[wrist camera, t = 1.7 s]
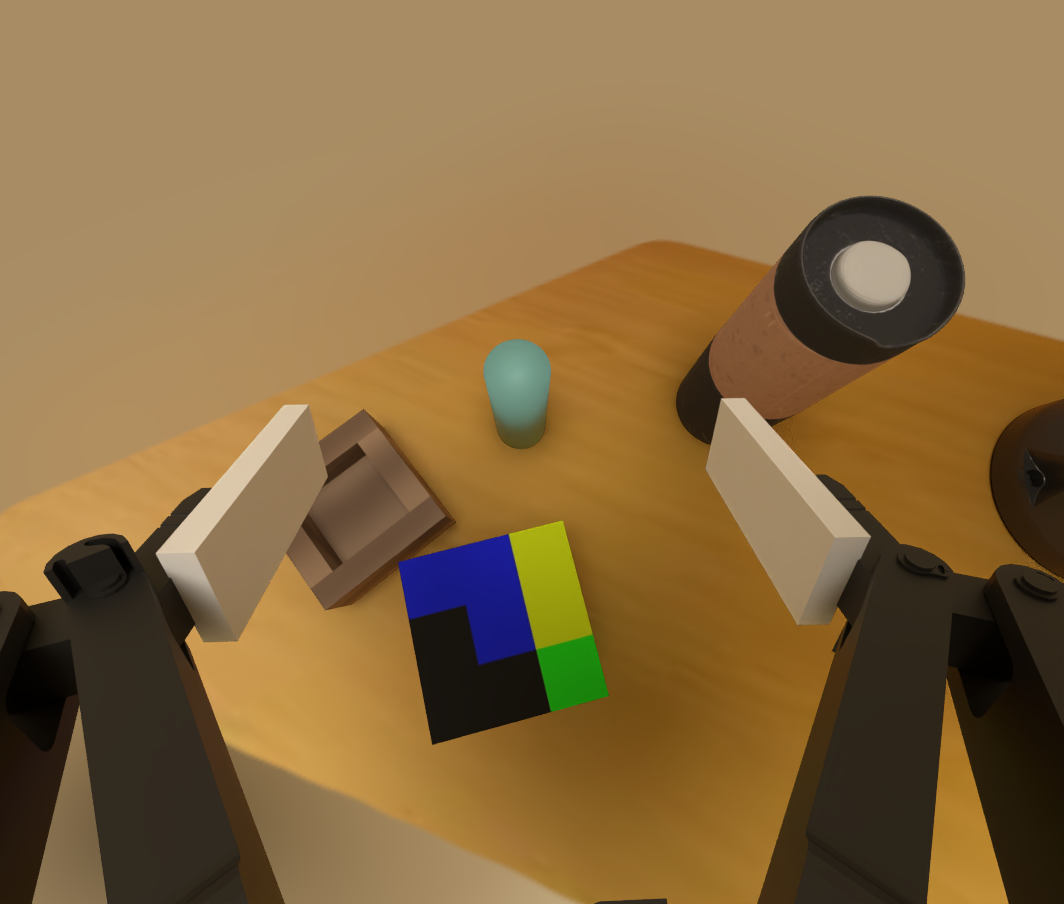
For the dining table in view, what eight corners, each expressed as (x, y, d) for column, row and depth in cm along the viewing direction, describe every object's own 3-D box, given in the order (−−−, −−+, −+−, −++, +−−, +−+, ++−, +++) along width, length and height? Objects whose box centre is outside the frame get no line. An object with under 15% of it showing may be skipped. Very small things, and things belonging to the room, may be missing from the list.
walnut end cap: (455, 522, 39) (445, 516, 35) (351, 604, 38) (325, 610, 33) (383, 427, 41) (363, 409, 36) (280, 503, 40) (246, 494, 35)
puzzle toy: (431, 562, 39) (398, 562, 29) (554, 531, 39) (562, 520, 30) (458, 697, 37) (432, 744, 27) (588, 661, 37) (609, 695, 28)
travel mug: (703, 346, 43) (849, 163, 23) (780, 396, 42) (998, 250, 22) (654, 413, 42) (765, 280, 22) (732, 467, 41) (920, 378, 21)
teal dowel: (554, 428, 41) (564, 375, 30) (517, 458, 41) (511, 415, 29) (524, 393, 42) (522, 326, 30) (487, 421, 41) (470, 365, 30)
